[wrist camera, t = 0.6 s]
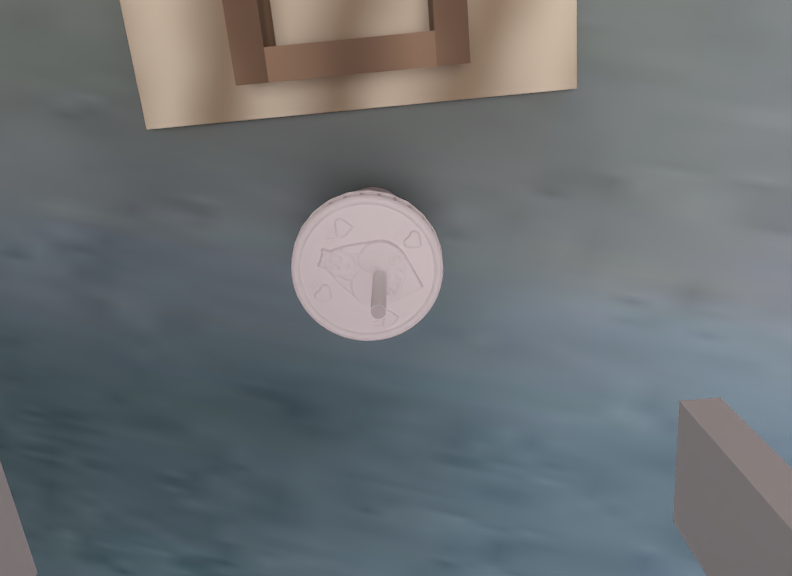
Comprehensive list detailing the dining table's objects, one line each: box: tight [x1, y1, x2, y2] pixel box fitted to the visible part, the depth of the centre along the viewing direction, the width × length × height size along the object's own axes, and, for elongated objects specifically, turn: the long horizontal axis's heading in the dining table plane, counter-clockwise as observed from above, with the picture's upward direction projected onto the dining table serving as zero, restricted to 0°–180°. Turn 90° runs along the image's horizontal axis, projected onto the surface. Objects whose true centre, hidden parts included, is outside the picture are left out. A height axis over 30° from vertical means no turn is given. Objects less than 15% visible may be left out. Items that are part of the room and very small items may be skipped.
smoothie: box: [291, 187, 443, 341], centre depth 29 cm, size 6×6×14 cm
